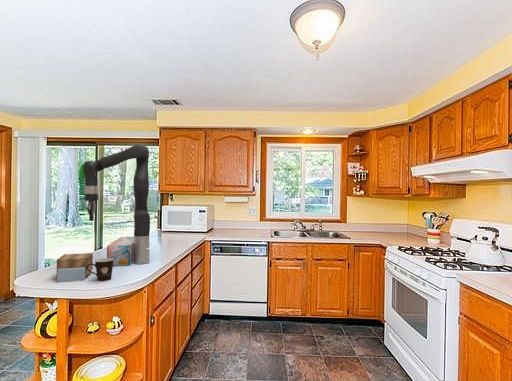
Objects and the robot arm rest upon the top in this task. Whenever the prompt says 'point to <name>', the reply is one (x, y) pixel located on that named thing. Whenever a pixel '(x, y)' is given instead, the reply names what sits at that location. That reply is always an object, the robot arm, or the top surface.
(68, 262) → the wood grain cube
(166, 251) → the top surface
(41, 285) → the top surface
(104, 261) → the coffee mug
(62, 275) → the block
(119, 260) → the soda box
